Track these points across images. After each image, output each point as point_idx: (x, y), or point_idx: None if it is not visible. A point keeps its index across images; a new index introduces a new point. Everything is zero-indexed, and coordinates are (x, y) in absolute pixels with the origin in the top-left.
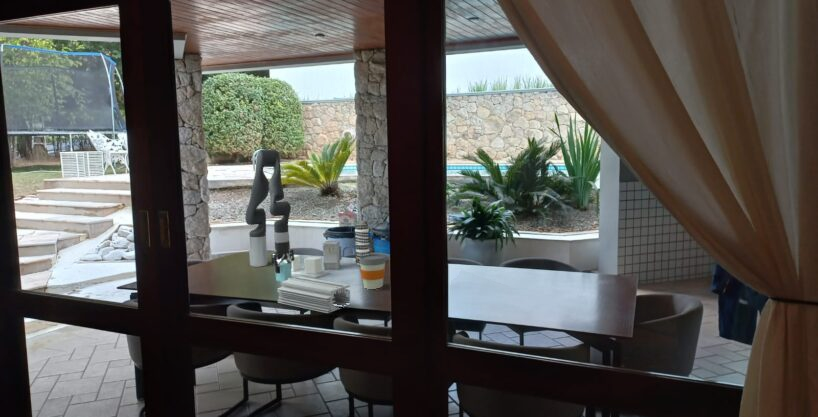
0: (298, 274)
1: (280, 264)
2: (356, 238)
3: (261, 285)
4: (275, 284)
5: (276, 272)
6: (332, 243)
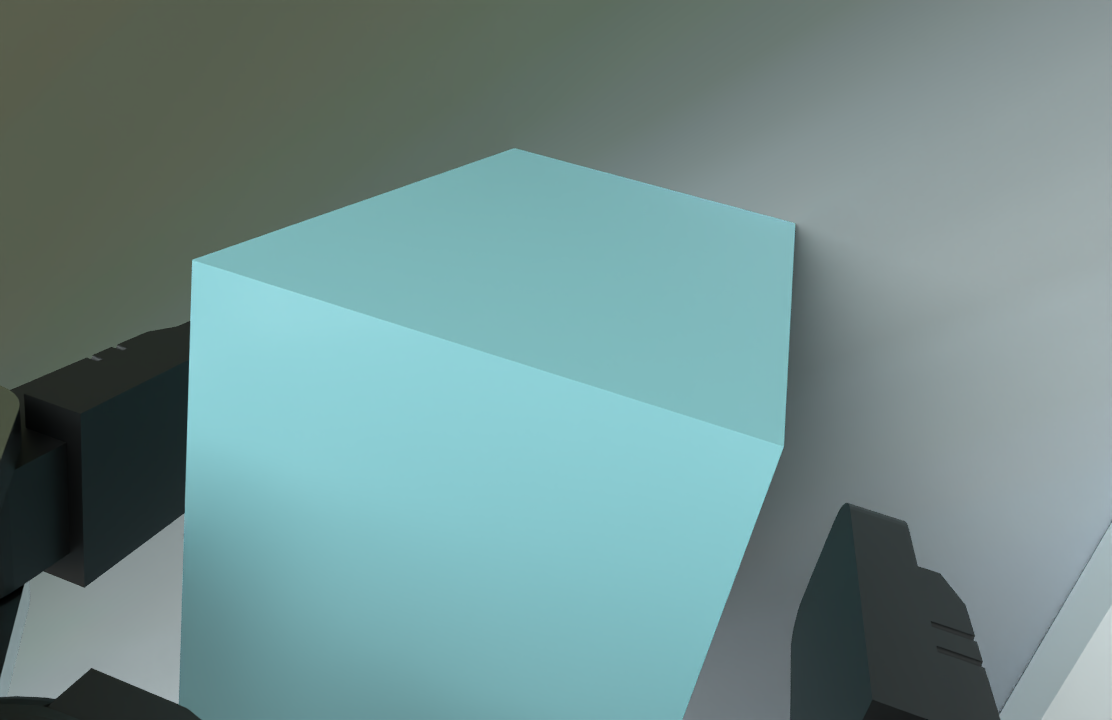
0: (1088, 637)
1: (269, 553)
2: None
3: (3, 32)
4: None
5: None
6: None
